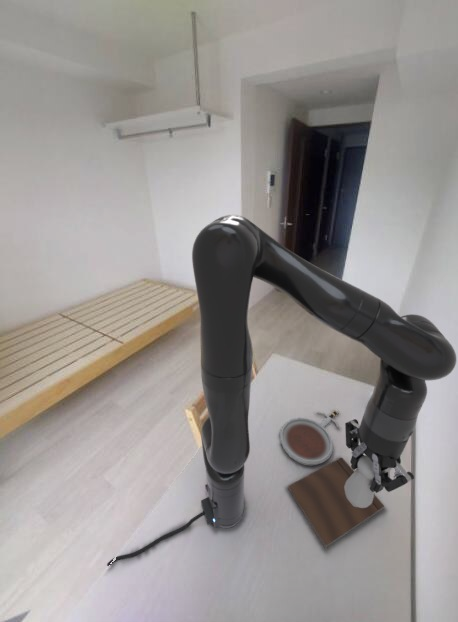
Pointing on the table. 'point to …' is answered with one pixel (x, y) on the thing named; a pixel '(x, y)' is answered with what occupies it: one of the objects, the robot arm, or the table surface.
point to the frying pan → (307, 439)
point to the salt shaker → (361, 484)
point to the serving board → (330, 502)
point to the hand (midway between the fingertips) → (364, 477)
